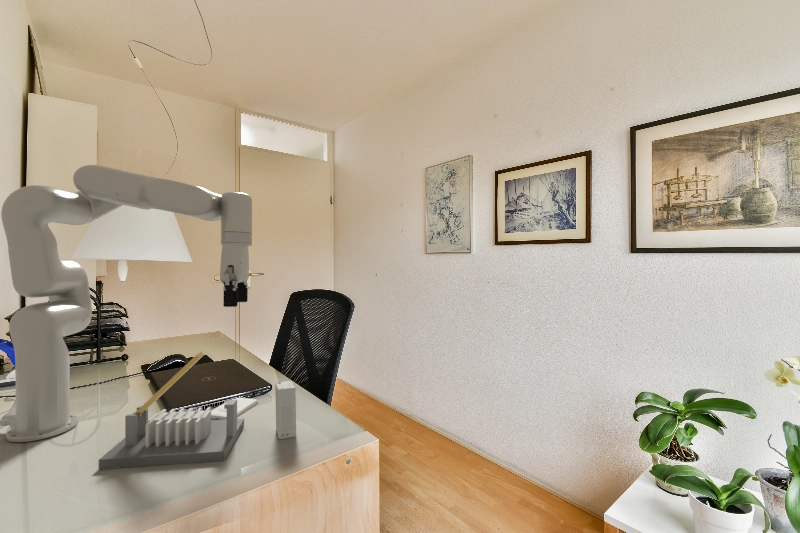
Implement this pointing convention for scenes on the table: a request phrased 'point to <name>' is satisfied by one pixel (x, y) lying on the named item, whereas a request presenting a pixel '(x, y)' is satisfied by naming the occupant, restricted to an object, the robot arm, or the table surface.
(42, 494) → the table surface
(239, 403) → the external hard drive
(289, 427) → the skincare box
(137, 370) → the table surface
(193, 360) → the bar
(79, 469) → the table surface
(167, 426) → the cooler base
